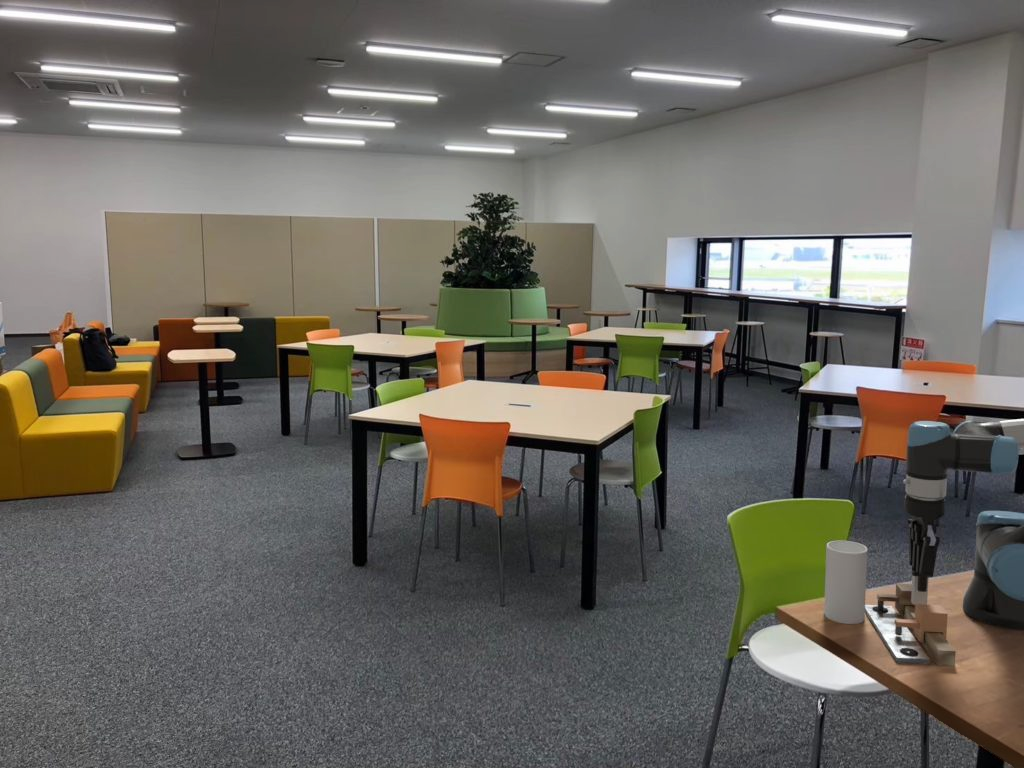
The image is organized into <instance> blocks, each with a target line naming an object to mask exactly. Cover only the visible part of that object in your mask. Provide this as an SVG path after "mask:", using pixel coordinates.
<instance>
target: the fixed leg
mask: <svg viewBox="0 0 1024 768" xmlns="http://www.w3.org/2000/svg"><path fill="white" fill-rule="evenodd" d="M911 594H912V583H895V594H891V593H889V594H888V593H877V594H876V599H877V605H878V607H877V609H878V610H883V607H884V606H885V605H884V604H885V603H884V602H891V603H894V608H895V611H897V613H898V614H899V616H902V615H903V614H904V605H913V604H912V602H911Z"/></svg>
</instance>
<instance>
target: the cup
mask: <svg viewBox="0 0 1024 768" xmlns="http://www.w3.org/2000/svg"><path fill="white" fill-rule="evenodd" d="M825 549H826V551H825V552H826V555H825V580H824V583H825V585H824V606H823V607H824V609H823V611H824V612H823V613H824V616H825V618H826V619H828V620H830V621H833V622H835V623H839V624H846V625H857V624H861V623H863V622H864V621H865V616H866V613H865V605H866V595H867V594H866V590H867V569H868V568H867V566H868V547H867V546H865V545H864V544H862V543H859V542H856V541H850V540H831V541H829V542H827V543H826V548H825Z"/></svg>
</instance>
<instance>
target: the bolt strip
mask: <svg viewBox="0 0 1024 768" xmlns="http://www.w3.org/2000/svg"><path fill="white" fill-rule="evenodd" d="M877 607H878V604H877V605H876V604H865V616H867V618H868V619H869V621H870V622H871V624H872V626H873V628H874V629H875V630H876V632H877V633H878V636H879V637H880V638H881V640H882V642H883V643H884V644H885V647H886V648H887V650H888V651H889V653H890V654H891V656H892V658H893V659H894V660H895V662H896V663H901V664H903V663H904V664H916V665H918V664H919V665H930V663H931V659H930V658H929V656H928V655H927V654H926V652H925V651H924V649H923V648H922V646H921V645H920V643H919V642H918V640H916V638H915V636H914V634H912V632H911V631H910V630H909V627H902V635H896V634H895V626H896V625H895V619H901V617H900V615H898V614H899V613H898V612H896V609H894V607H893V606H892V605H884V607H883V610H878V609H877Z"/></svg>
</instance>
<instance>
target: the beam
mask: <svg viewBox="0 0 1024 768" xmlns="http://www.w3.org/2000/svg"><path fill="white" fill-rule="evenodd" d="M901 616H902V618H903V617H904V618H903V619H907V620H915V605H904V614H903V615H901ZM910 629H911V630H912V632H914V628H910ZM921 644H922V645H923V646H924V648H925V650H926V651H927V653H929V655H930V656H931V658H932V659H933V661H934V662H935V663H936V664H937V665H938V666H947V667H948V666H951V667H955V666H956V653H957V652H956V650H955V648H954V646H952V644H950V642H949V641H948V640H947V638H946V639H945V637H944V636H943V635H942V634H941V632H927V631H924V642H921Z"/></svg>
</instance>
